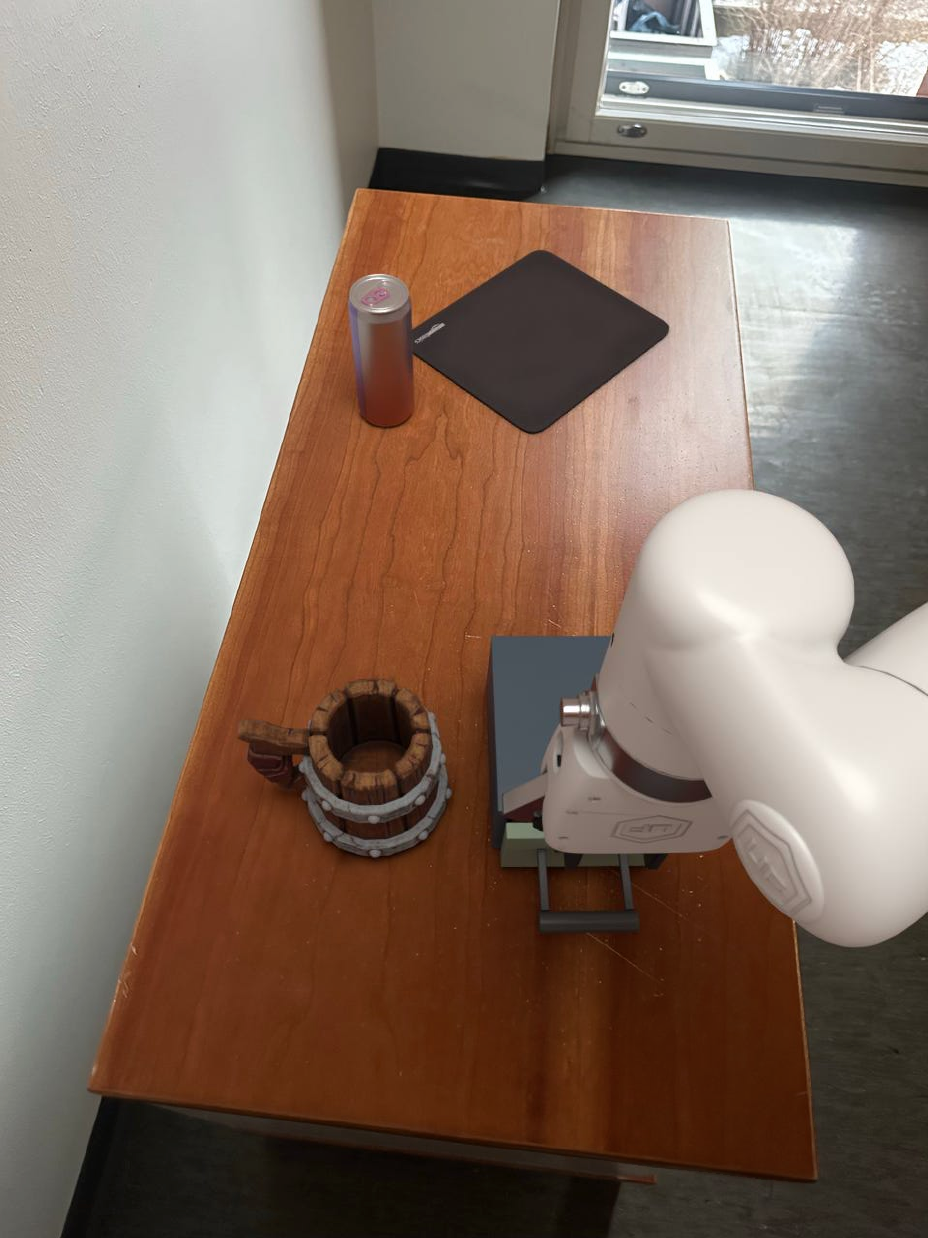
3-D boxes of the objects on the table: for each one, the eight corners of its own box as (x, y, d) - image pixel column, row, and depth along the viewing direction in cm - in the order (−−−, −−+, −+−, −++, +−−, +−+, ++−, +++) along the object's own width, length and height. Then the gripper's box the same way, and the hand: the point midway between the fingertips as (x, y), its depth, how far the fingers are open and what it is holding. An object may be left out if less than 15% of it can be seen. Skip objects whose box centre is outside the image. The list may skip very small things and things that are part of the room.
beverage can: (347, 409, 96) (333, 292, 83) (387, 381, 98) (379, 263, 86) (386, 438, 94) (378, 322, 81) (425, 409, 96) (424, 292, 84)
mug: (464, 862, 70) (430, 793, 57) (288, 876, 71) (216, 812, 59) (459, 726, 76) (427, 636, 64) (297, 741, 78) (234, 657, 65)
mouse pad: (540, 247, 112) (540, 245, 112) (675, 328, 104) (675, 327, 104) (395, 340, 102) (395, 339, 102) (533, 438, 94) (533, 436, 94)
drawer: (656, 945, 66) (678, 923, 61) (503, 947, 66) (510, 925, 60) (627, 710, 77) (642, 671, 71) (494, 710, 76) (499, 672, 71)
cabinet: (649, 848, 71) (673, 810, 64) (491, 849, 71) (498, 811, 64) (628, 686, 79) (647, 635, 72) (486, 686, 79) (491, 635, 71)
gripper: (490, 797, 38) (474, 909, 53) (880, 794, 39) (753, 906, 54) (485, 645, 42) (471, 790, 57) (838, 644, 43) (731, 788, 58)
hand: (608, 845), depth 56 cm, fingers open, 4 cm apart
